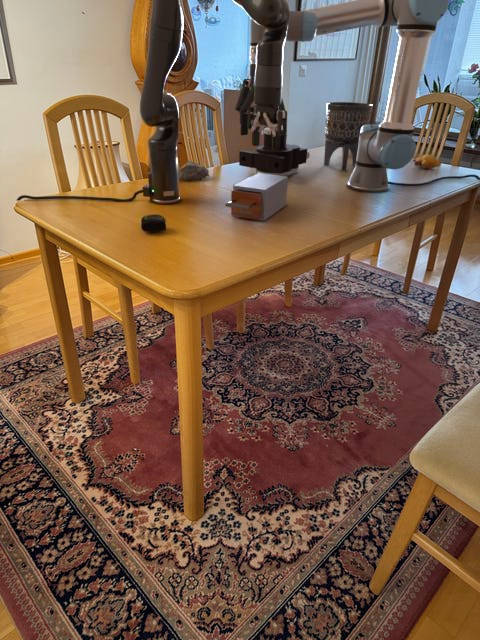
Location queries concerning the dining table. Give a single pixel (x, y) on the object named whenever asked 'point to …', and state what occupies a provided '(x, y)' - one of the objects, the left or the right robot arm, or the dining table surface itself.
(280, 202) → the grey rectangular box
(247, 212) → the drawer
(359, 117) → the planter
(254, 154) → the mechanical component
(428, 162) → the toy
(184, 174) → the rock
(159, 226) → the tape measure
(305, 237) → the dining table surface
